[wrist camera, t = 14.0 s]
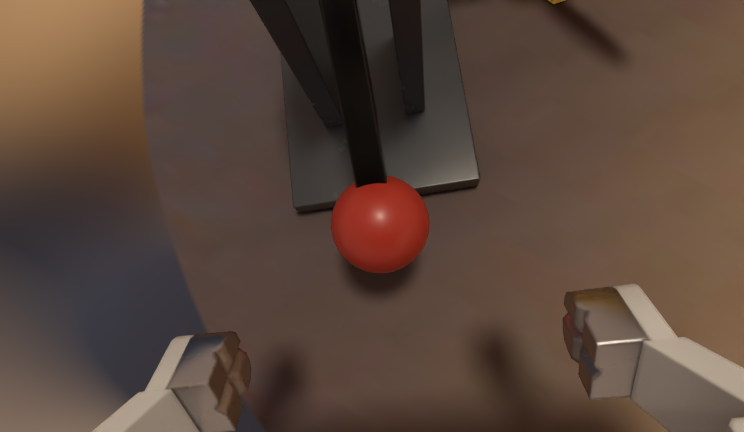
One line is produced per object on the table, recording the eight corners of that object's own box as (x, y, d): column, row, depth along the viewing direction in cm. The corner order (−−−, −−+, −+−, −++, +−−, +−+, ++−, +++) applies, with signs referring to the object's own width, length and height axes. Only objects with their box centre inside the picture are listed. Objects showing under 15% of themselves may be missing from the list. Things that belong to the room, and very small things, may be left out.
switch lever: (431, 240, 18) (439, 285, 15) (346, 252, 19) (336, 298, 15) (376, -145, 13) (371, -207, 10) (264, -118, 14) (223, -169, 10)
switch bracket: (478, 186, 21) (540, 14, 9) (300, 213, 22) (131, 93, 10) (440, -22, 24) (447, -378, 12) (282, 10, 25) (133, -286, 12)
